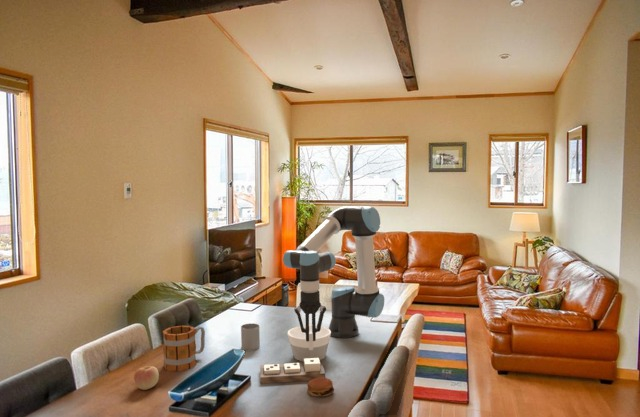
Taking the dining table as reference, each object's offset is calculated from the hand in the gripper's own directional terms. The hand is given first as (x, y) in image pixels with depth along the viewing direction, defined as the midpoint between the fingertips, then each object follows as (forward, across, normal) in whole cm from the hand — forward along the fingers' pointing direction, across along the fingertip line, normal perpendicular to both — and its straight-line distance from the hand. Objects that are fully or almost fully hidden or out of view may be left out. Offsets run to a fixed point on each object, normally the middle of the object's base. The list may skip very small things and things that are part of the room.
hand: (310, 348), depth 192 cm
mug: (+10, +52, -20) cm, 56 cm away
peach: (+10, +63, +4) cm, 64 cm away
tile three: (+10, +16, 0) cm, 19 cm away
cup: (+11, +25, -35) cm, 44 cm away
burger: (+11, -2, +17) cm, 20 cm away
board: (+10, +8, 0) cm, 13 cm away
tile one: (+8, 0, 0) cm, 8 cm away
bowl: (+11, -1, -20) cm, 23 cm away
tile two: (+10, +8, 0) cm, 13 cm away
